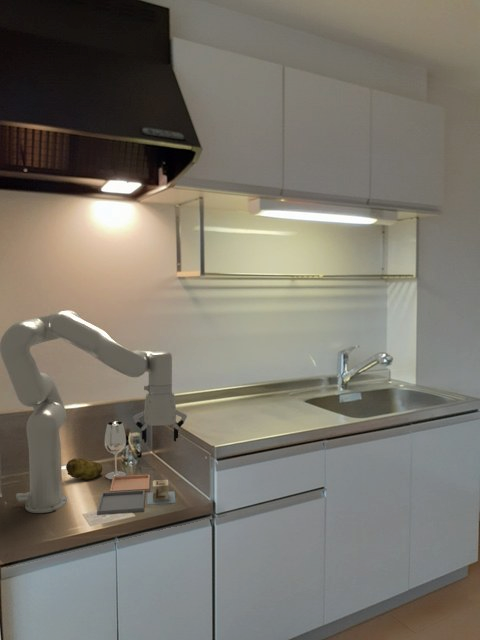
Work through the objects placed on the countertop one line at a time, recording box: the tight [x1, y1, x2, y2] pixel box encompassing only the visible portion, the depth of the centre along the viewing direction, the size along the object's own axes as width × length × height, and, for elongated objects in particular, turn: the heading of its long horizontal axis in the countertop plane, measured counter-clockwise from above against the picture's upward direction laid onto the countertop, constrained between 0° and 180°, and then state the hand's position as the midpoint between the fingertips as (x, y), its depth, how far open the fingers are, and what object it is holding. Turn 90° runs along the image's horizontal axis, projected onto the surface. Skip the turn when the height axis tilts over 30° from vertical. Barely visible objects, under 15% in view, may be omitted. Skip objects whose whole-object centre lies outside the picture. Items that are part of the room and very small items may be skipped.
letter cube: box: [152, 479, 169, 501], centre depth 165 cm, size 5×5×5 cm
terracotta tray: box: [109, 474, 151, 493], centre depth 176 cm, size 13×13×2 cm
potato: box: [65, 457, 103, 481], centre depth 183 cm, size 8×13×8 cm, turn 111°
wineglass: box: [104, 420, 127, 481], centre depth 185 cm, size 8×8×20 cm
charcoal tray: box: [96, 490, 146, 515], centre depth 161 cm, size 14×14×2 cm
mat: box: [146, 490, 176, 506], centre depth 165 cm, size 9×9×1 cm
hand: (160, 440), depth 164 cm, fingers open, 9 cm apart
